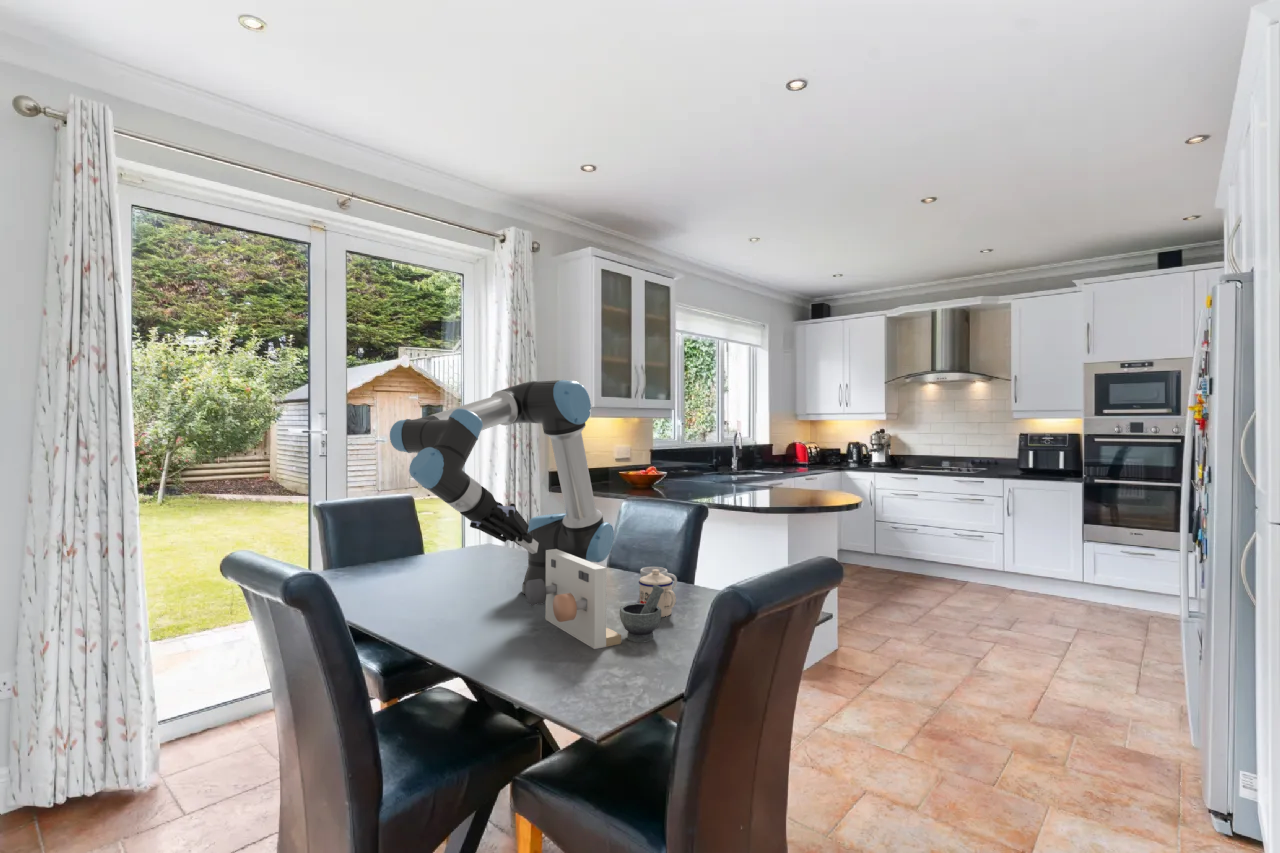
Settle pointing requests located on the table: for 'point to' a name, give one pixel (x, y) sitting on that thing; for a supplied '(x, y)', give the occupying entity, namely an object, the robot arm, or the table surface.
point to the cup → (663, 571)
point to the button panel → (580, 597)
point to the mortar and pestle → (642, 617)
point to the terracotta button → (567, 607)
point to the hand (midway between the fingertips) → (535, 548)
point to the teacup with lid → (666, 597)
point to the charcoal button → (538, 591)
